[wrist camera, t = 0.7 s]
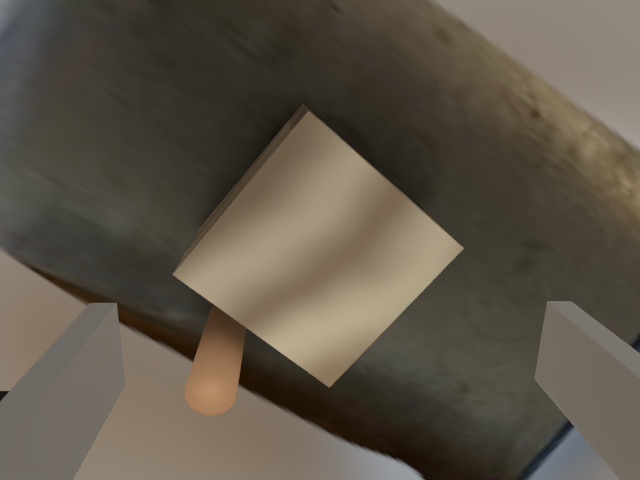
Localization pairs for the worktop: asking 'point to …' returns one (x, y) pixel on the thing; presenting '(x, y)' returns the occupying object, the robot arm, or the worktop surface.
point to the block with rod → (216, 365)
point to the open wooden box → (315, 249)
